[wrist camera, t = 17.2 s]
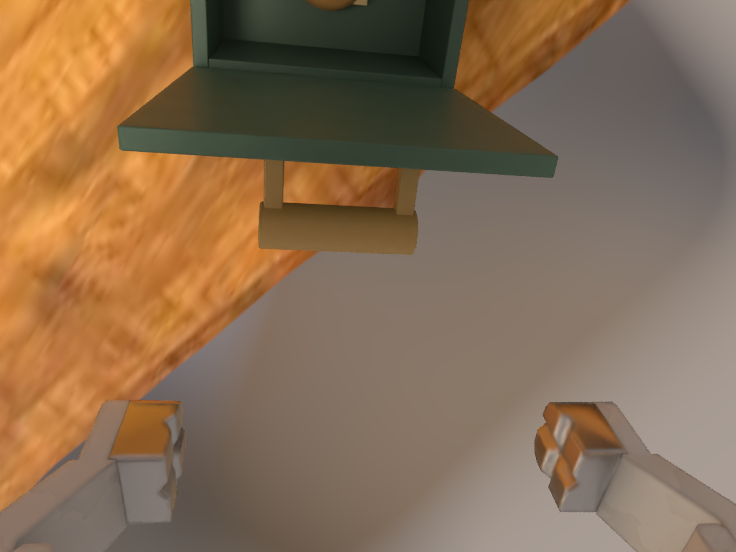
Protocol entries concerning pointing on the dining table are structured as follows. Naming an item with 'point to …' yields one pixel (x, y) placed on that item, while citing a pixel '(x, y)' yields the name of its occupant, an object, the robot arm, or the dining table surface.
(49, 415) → the dining table surface
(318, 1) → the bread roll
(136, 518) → the robot arm
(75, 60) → the dining table surface
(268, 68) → the bread bin
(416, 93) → the lid
